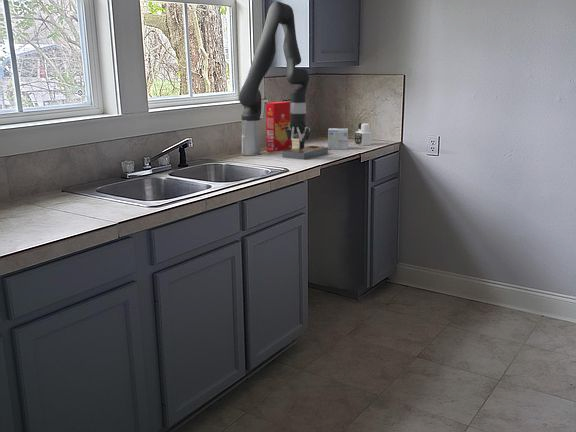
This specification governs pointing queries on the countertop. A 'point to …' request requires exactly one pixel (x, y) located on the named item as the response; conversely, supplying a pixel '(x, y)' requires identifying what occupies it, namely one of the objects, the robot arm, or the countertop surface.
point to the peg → (296, 145)
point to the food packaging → (277, 126)
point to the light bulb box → (338, 138)
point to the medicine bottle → (363, 135)
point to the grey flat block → (306, 152)
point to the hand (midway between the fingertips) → (297, 148)
